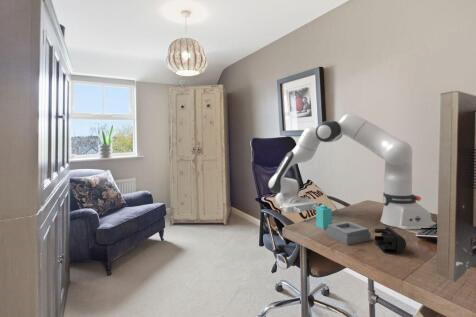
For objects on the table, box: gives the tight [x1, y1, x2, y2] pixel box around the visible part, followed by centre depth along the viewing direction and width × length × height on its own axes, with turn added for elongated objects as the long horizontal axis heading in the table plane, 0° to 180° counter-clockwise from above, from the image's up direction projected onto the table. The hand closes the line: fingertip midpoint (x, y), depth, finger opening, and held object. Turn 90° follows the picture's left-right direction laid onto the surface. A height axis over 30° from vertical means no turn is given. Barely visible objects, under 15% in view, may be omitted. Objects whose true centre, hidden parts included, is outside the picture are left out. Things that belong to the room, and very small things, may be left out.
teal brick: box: [315, 204, 333, 230], centre depth 122 cm, size 5×5×10 cm
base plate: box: [325, 220, 372, 246], centre depth 108 cm, size 12×12×4 cm
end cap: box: [374, 226, 407, 255], centre depth 96 cm, size 10×7×7 cm
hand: (308, 210), depth 133 cm, fingers open, 8 cm apart
